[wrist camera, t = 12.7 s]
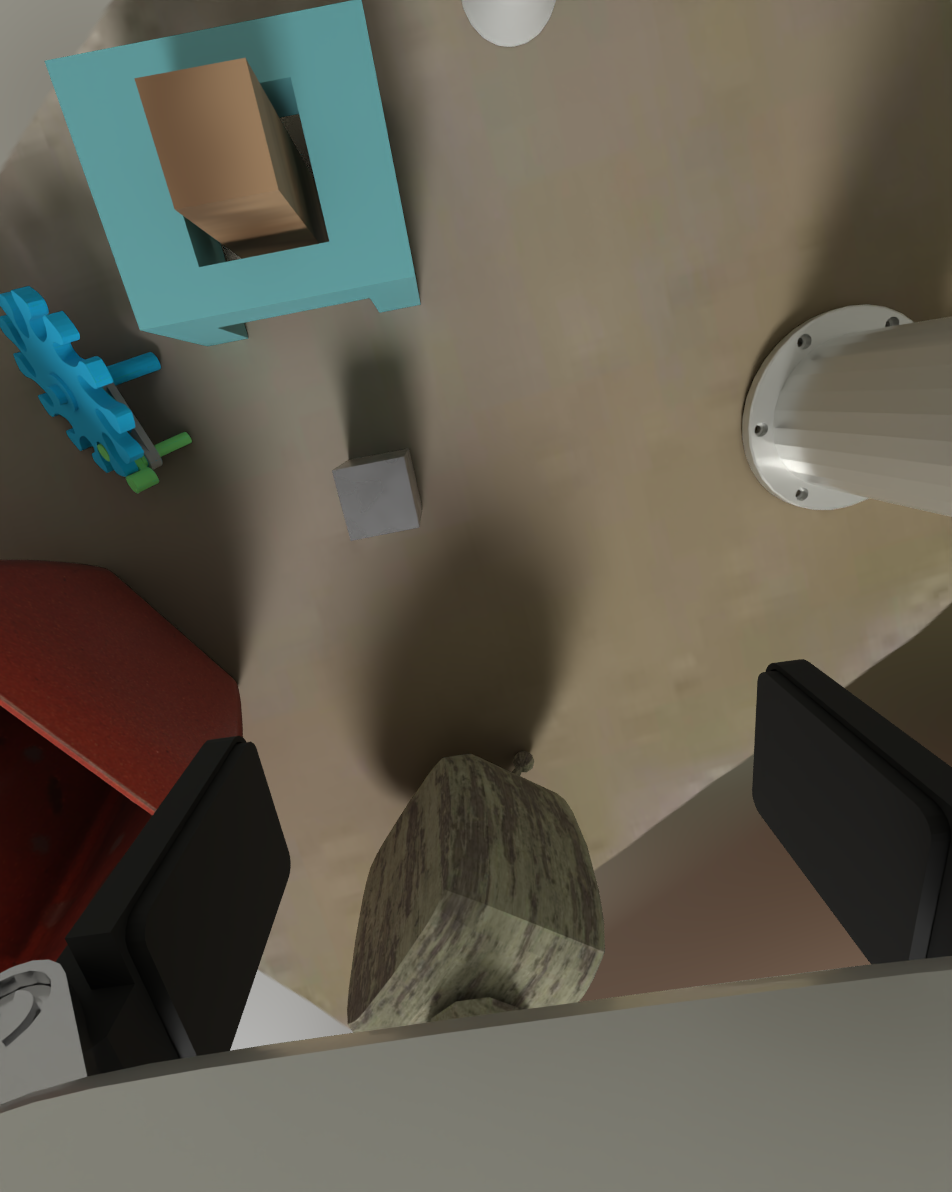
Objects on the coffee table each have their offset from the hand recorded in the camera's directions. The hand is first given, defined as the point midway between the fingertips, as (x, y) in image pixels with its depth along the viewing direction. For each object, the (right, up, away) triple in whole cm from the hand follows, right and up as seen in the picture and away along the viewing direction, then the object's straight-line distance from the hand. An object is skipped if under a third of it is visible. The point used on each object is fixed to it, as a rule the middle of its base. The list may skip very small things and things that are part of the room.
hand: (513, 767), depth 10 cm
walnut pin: (-11, +24, +21) cm, 34 cm away
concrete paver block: (-7, +11, +26) cm, 29 cm away
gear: (-23, +15, +24) cm, 36 cm away
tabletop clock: (-2, -13, +35) cm, 37 cm away
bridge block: (-11, +24, +21) cm, 34 cm away
